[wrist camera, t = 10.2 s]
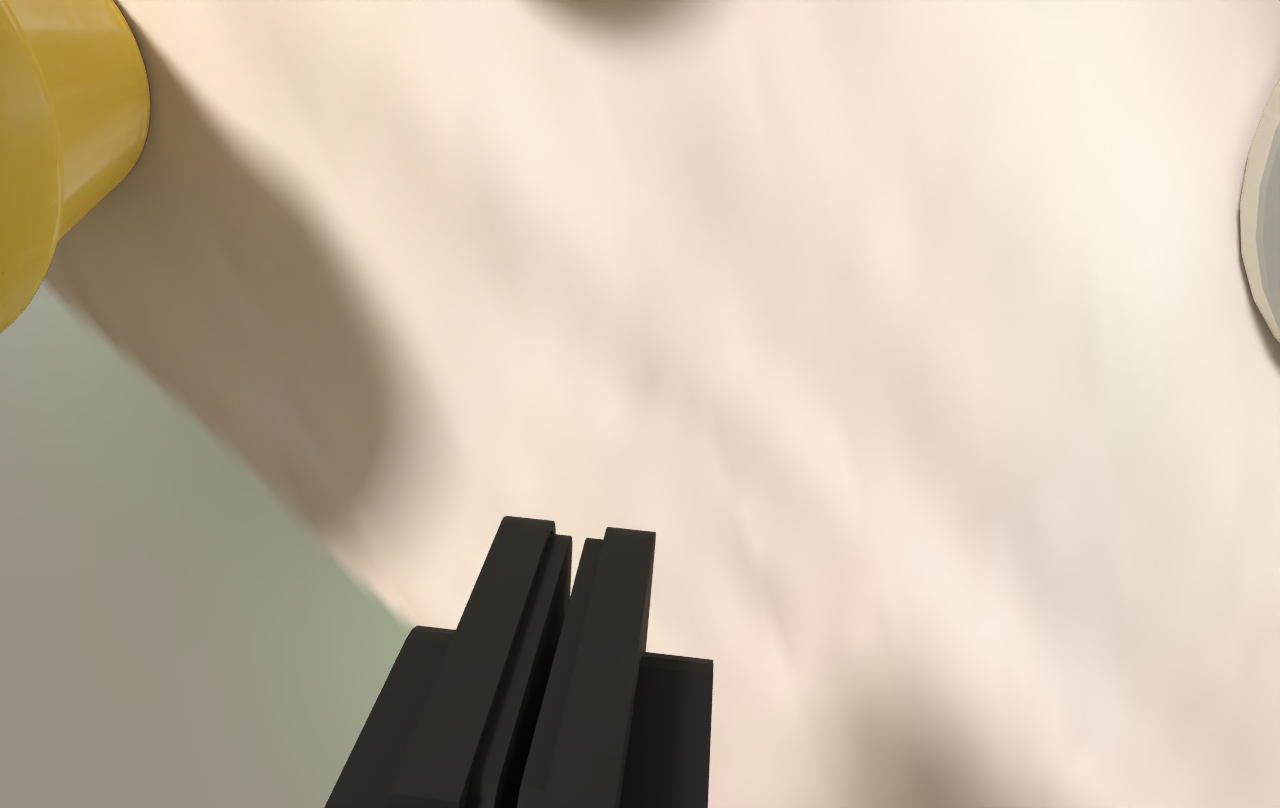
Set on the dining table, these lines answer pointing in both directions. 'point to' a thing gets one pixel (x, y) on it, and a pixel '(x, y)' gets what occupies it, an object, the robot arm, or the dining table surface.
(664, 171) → the dining table surface
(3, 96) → the plant pot
